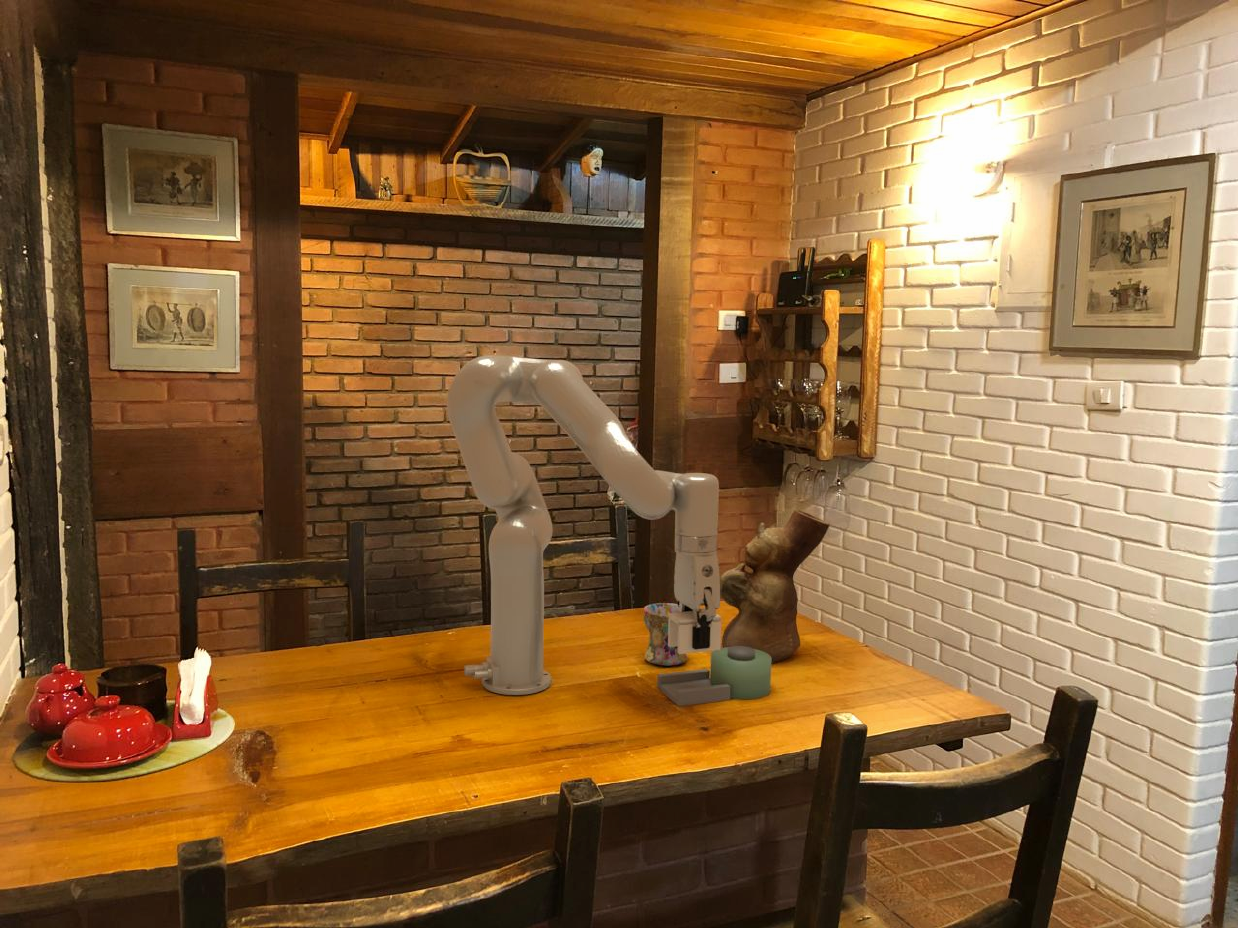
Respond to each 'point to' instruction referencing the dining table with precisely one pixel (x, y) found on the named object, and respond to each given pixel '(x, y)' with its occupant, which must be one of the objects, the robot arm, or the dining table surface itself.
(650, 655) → the floral vase
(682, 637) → the arch block
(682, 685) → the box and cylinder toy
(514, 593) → the robot arm
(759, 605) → the ceramic vessel
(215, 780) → the dining table surface
